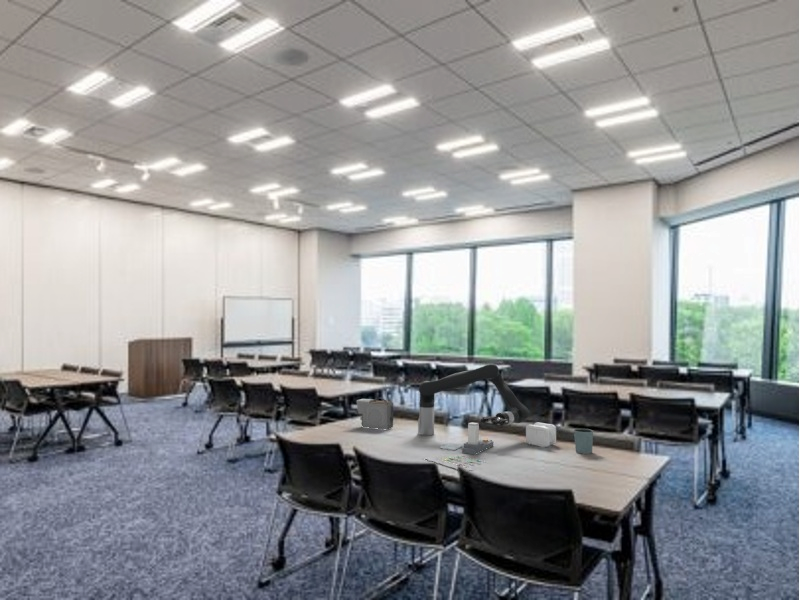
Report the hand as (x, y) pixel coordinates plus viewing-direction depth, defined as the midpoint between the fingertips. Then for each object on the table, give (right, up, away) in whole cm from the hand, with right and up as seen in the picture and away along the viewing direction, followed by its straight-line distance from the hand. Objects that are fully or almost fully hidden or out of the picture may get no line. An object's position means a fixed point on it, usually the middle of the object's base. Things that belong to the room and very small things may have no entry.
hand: (486, 422), depth 307 cm
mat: (-20, -14, 0) cm, 25 cm away
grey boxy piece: (-66, -16, +56) cm, 88 cm away
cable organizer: (+33, -15, +8) cm, 37 cm away
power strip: (-4, -15, 0) cm, 15 cm away
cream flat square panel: (-16, -14, -28) cm, 35 cm away
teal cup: (+52, -15, -9) cm, 54 cm away
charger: (-9, -12, -8) cm, 16 cm away
